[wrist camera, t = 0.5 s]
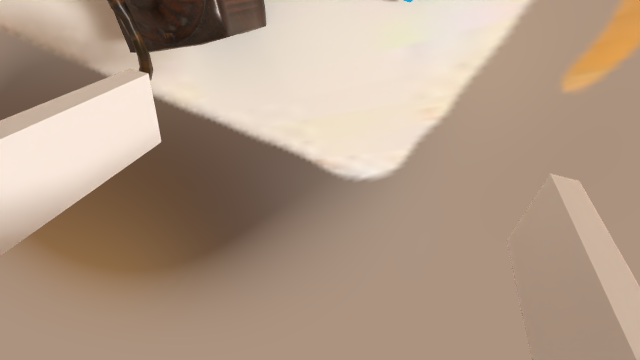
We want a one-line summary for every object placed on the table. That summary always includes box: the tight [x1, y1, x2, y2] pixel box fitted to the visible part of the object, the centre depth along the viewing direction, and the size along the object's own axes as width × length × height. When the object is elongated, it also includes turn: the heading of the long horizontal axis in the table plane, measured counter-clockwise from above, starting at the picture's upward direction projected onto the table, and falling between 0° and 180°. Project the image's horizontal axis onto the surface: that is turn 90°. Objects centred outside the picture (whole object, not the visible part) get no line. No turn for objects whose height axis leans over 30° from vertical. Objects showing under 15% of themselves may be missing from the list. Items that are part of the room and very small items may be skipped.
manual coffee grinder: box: [107, 0, 266, 81], centre depth 29 cm, size 16×11×18 cm
